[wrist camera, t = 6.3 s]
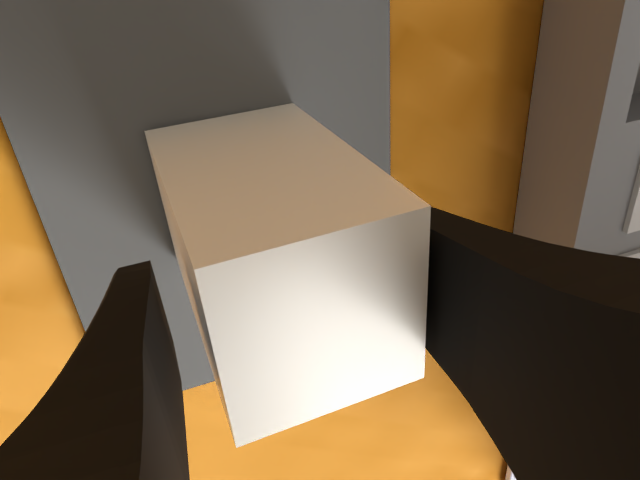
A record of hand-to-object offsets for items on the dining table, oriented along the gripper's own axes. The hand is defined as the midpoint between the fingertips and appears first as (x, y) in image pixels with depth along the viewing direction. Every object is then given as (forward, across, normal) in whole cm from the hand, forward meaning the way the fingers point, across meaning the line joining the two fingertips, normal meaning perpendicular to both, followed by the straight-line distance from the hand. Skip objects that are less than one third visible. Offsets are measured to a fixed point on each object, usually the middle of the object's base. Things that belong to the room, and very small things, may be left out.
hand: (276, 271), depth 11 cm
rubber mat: (+5, 0, 0) cm, 5 cm away
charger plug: (+5, 0, 0) cm, 5 cm away
